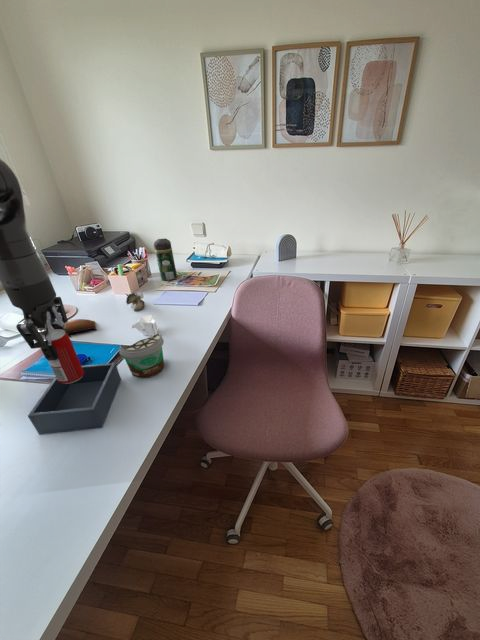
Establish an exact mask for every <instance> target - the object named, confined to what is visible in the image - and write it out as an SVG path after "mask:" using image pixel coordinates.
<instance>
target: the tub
mask: <svg viewBox="0 0 480 640" xmlns="http://www.w3.org/2000/svg"><path fill="white" fill-rule="evenodd" d="M81 366H82V368H83V370H84V375H83V376H82V378H81V379H79V380H78V381H76V382H73V383H71V384H64V383H60V382H59V381H58V380H57V378H56V376H54V378H53V379H52V380H51V382H50V384H49V385H48V386H47V388H46V389H45V391H44V392H43V394H42V395H41V396H40V398H39V399H38V401H37V402H36V404H35V405H34V406H33V408H32V409H31V410H30V411H29V413H28V414H27V418H28V419H29V421H30V422H31V424H32V426H33V427H34V429H35V430H36V432H37V434H38V435H45V434H55V433H64V432H72V431H73V432H75V431H82V430H91V429H100V428H103V426H104V423H105V421H106V419H107V416H108V413H109V411H110V409H111V406H112V404H113V402H114V399H115V397H116V394H117V391H118V389H119V387H120V384H121V381H122V377H121V374H120V372H119V369H118V365H117V363H116V362H110V363H99V364H87V365H81Z"/></svg>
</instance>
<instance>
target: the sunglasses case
mask: <svg viewBox="0 0 480 640" xmlns="http://www.w3.org/2000/svg"><path fill="white" fill-rule="evenodd" d="M96 323H97V322H96V321H95V320H91V319H86V318H84V319H83V318H77V319H71V320H68V322H67V323H65V326H66V328H65V331H66V333H67V335H69V334H73V333H79V332H83V331H88V330H93V329H94V330H97V324H96ZM37 330H38V331H45V328H41V329H37ZM52 330H53V329H52Z"/></svg>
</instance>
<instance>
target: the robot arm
mask: <svg viewBox="0 0 480 640" xmlns="http://www.w3.org/2000/svg"><path fill="white" fill-rule="evenodd" d="M0 284H1V286H2V287H3V290H4V291H5V293H6V295H7V298H8V299H9V302H10V303H11V305H12V306H13V307H15V308H18V309H19V310H21V311H22V314H23V319H24V321H23V322H22V323H17V324H16V326H15V328H16V330H17V331H18V333H19V334H20V335H21V337H22V339H23V340H24V341H25V342H26V343H27V345H28V346H29V348H30V349H32V350H35V349H40V350H41V352H42V354H43V357H44V358H45V359H46V360H47V361H48V360H57V359H58V358H59V356H58V353H57V351H56V349H55V347H54V345H53V344H52V341H51V336H50V334H51V333H52V329H53V330H55V329H62V330H64V331H65V328H66V326H65V323H67V322H68V321H69V320H68V316H67V313H66V309H65V305H64V303H63V300H62V297H61V296H57V292H56V290H55V288H54V286H53V285H54V284H53V283H52V280H51V278H50V276H49V273H48V271H47V269H46V267H45V264H44V262H43V260H42V259H41V257H40V255H39V253H38V252H37V249H36V246H35V245H34V242H33V240H32V237H31V235H30V233H29V231H28V228H27V218H26V212H25V203H24V196H23V191H22V187H21V184H20V181H19V178H18V177H17V175H16V173H15V172H14V170H13V169H12V168H11V167H10V165H9V164H8V163H6V162H5V161H4V160H3V159H2V158H0ZM41 328H45V331H38V330H39V329H41ZM65 332H66V331H65ZM66 334H67V333H66ZM41 335H44V336H45V340H44V339H43V338H42V336H41ZM67 335H68V334H67Z"/></svg>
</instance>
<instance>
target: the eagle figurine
mask: <svg viewBox="0 0 480 640" xmlns="http://www.w3.org/2000/svg"><path fill="white" fill-rule="evenodd" d="M125 295H126V300H125V303H126V305H127V306H128V305H130V304H131V305H130V308H131V309H132V308H133V307H134V309H133V311H134V312H137V313H138V312H142V311H143V310H145V307H146V305H145V301H144V300H143V299H144V298H145V297H144V294H143V292H142V291H137V292H136V293H135V292H133V293H129V294H128V293H125Z"/></svg>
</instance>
